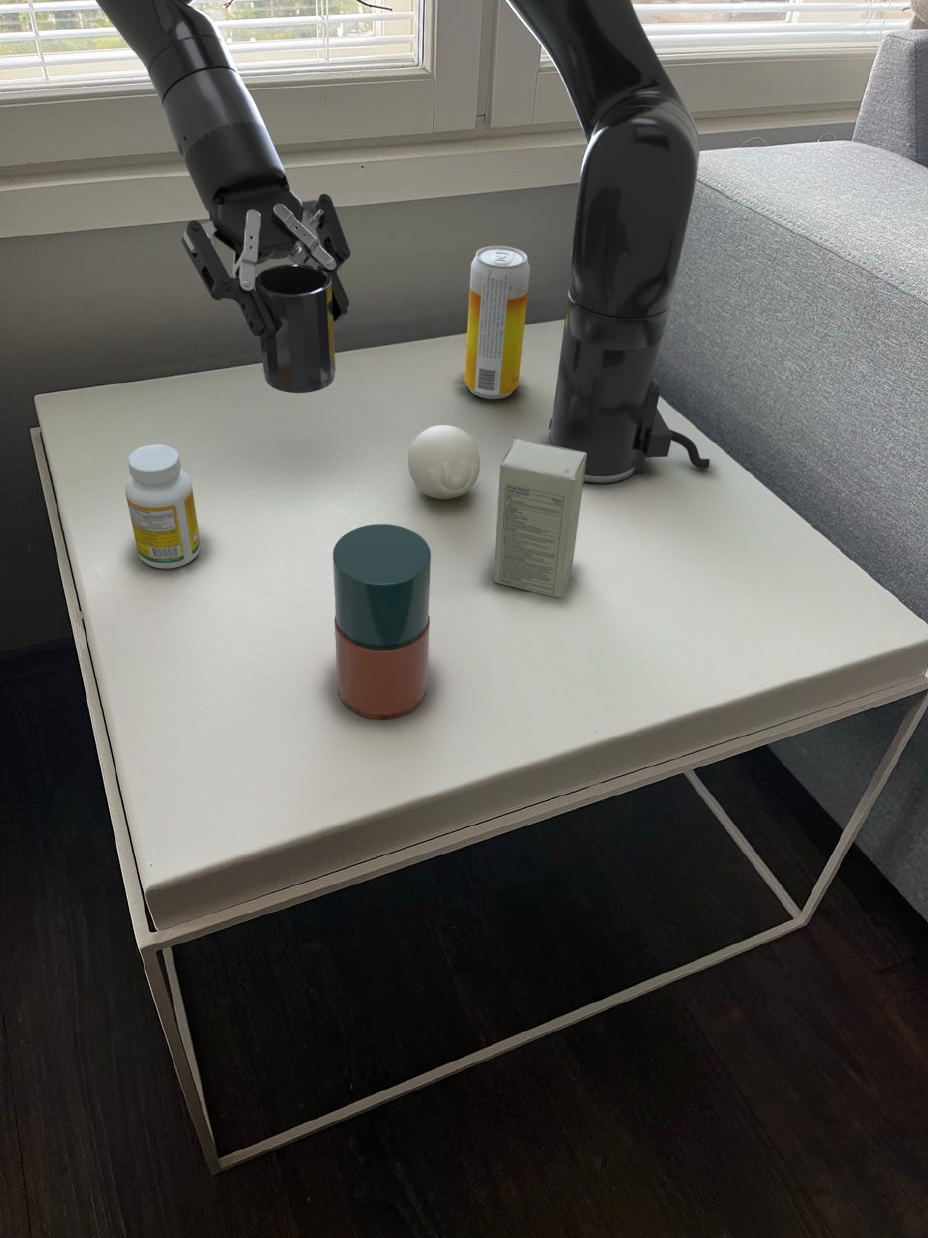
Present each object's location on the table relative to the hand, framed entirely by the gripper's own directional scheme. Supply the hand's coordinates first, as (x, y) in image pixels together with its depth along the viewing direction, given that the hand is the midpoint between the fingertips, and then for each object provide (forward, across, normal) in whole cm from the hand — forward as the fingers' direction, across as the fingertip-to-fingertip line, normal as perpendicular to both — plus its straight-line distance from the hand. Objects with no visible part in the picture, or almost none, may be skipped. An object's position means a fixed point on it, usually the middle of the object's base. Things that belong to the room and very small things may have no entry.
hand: (306, 326), depth 84 cm
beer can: (+8, +26, +14) cm, 30 cm away
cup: (+3, 0, +5) cm, 6 cm away
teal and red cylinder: (+30, -11, -8) cm, 33 cm away
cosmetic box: (+28, +7, -5) cm, 29 cm away
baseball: (+18, +9, +5) cm, 20 cm away
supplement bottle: (+13, -16, +9) cm, 23 cm away
